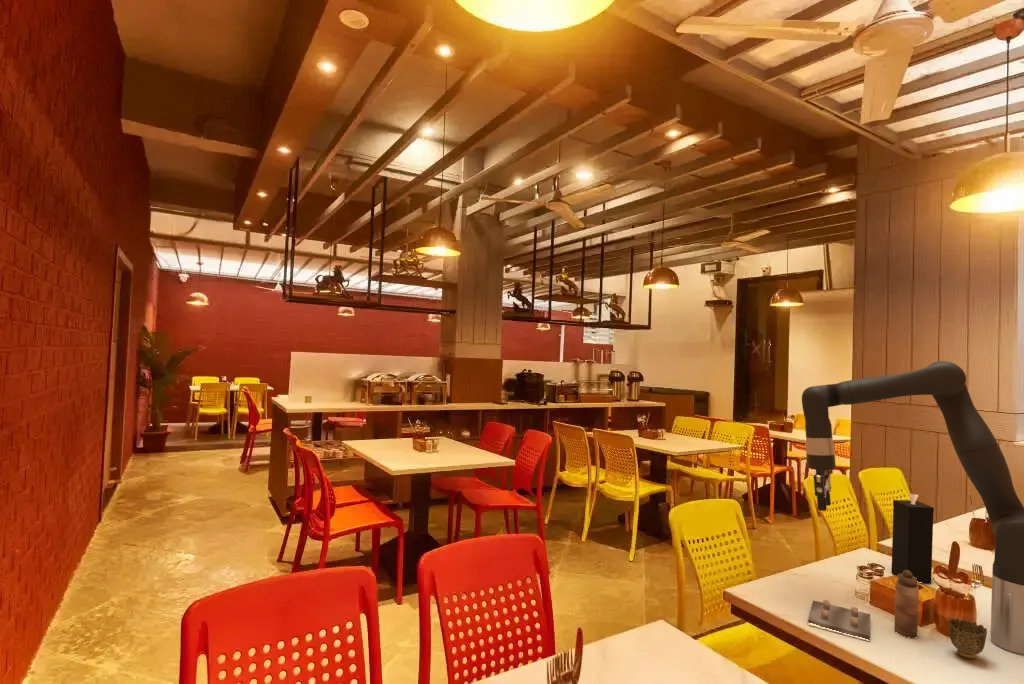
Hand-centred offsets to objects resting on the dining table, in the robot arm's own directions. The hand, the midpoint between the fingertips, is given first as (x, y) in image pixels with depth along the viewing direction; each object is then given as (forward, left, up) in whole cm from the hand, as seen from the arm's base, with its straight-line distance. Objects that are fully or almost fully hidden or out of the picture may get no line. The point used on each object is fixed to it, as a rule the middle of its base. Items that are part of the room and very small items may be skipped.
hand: (824, 507), depth 166 cm
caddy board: (-5, +13, -27) cm, 31 cm away
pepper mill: (-20, +9, -27) cm, 35 cm away
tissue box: (-23, -35, -28) cm, 50 cm away
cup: (-32, +14, -28) cm, 45 cm away
